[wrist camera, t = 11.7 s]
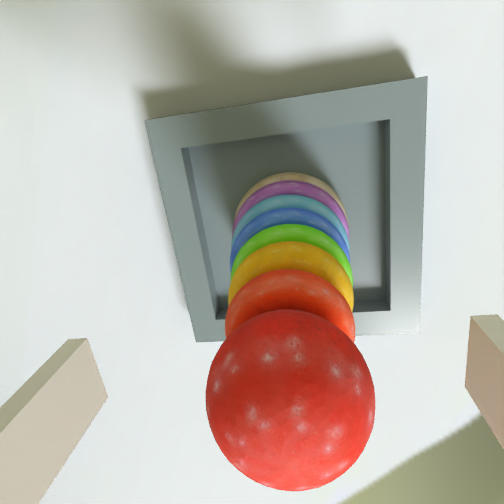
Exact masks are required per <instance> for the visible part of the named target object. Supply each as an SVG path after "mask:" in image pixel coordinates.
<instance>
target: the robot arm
mask: <svg viewBox="0 0 504 504" xmlns="http://www.w3.org/2000/svg"><path fill="white" fill-rule="evenodd" d="M465 388H466V389H467V391H468V392H469V394H470V396H471V397H472V399H473V401H474V402H475V404H476V405H477V407H478V409H479V410H480V412H481V414H482V415H483V417H484V418H485V420H486V422H487V423H488V425H489V426H490V428H491V430H492V431H493V433H494V435H495V436H496V438H497V439H498V441H499V443H500V444H501V446H502V448H503V449H504V321H503V320H502V319H501V318H500V317H499V316H498V315H481V316H471V319H470V331H469V342H468V354H467V366H466V377H465ZM107 398H108V396H107V393H106V390H105V387H104V384H103V382H102V379H101V376H100V373H99V370H98V367H97V365H96V362H95V359H94V356H93V353H92V350H91V348H90V345H89V342H88V339H87V338H82V339H68V340H67V341H66V342H65V343H64V344H63V345H62V346H61V347H60V348H59V349H58V350H57V351H56V352H55V353H54V354H53V355H52V356H51V357H50V358H49V359H48V360H47V361H46V362H45V363H44V364H43V365H42V366H41V367H40V368H39V369H38V370H37V371H36V372H35V373H34V374H33V375H32V376H31V377H30V378H29V379H28V380H27V381H26V382H25V383H24V384H23V385H22V386H21V387H20V389H19V390H18V391H17V392H16V393H15V394H14V395H13V396H12V397H11V398H10V399H9V400H8V401H7V402H6V403H5V404H4V405H3V406H2V407H1V408H0V504H38V503H39V502H40V500H41V499H42V497H43V496H44V494H45V493H46V491H47V490H48V488H49V486H50V485H51V483H52V482H53V480H54V479H55V477H56V476H57V474H58V473H59V471H60V470H61V468H62V467H63V465H64V464H65V462H66V460H67V459H68V457H69V456H70V454H71V453H72V451H73V450H74V448H75V447H76V445H77V444H78V442H79V441H80V439H81V438H82V436H83V434H84V433H85V431H86V430H87V428H88V427H89V425H90V424H91V422H92V421H93V419H94V418H95V416H96V415H97V413H98V411H99V410H100V408H101V407H102V405H103V404H104V402H105V401H106V399H107Z"/></svg>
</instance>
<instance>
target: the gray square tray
mask: <svg viewBox="0 0 504 504" xmlns="http://www.w3.org/2000/svg"><path fill="white" fill-rule="evenodd" d="M427 78H428V76H425V77H419V78H412V79H406V80H399V81H393V82H387V83H380V84H374V85H367V86H361V87H355V88H348V89H342V90H335V91H329V92H322V93H316V94H310V95H303V96H297V97H290V98H284V99H278V100H271V101H265V102H258V103H252V104H246V105H239V106H233V107H226V108H220V109H213V110H207V111H201V112H194V113H188V114H181V115H175V116H169V117H162V118H156V119H149V120H145V124H146V129H147V133H148V137H149V141H150V146H151V150H152V154H153V159H154V163H155V167H156V172H157V176H158V180H159V184H160V189H161V193H162V197H163V202H164V206H165V210H166V215H167V219H168V223H169V228H170V232H171V236H172V240H173V245H174V249H175V253H176V258H177V262H178V266H179V271H180V275H181V279H182V284H183V288H184V292H185V296H186V301H187V305H188V309H189V314H190V318H191V322H192V327H193V331H194V335H195V339H196V342H214V341H225V340H226V336H225V318H226V314H227V310H228V307H229V305H228V292H229V287H230V283H231V280H230V279H231V272H230V255H231V244H232V231H233V225H234V218H235V213H236V210H237V207H238V205H239V203H240V201H241V199H242V198H243V196H244V195H245V194H246V193H247V192H248V190H249V189H250V188H251V187H253V186H254V185H255V184H256V183H258V182H259V181H261V180H262V179H264V178H266V177H269V176H271V175H274V174H279V173H285V172H295V173H302V174H306V175H310V176H313V177H315V178H317V179H319V180H321V181H323V182H324V183H326V184H327V185H328V186H329V187H331V188H332V189H333V190H334V191H335V193H336V194H337V195H338V196H339V198H340V200H341V201H342V203H343V205H344V208H345V210H346V214H347V218H348V227H349V246H350V253H349V256H350V266H351V270H352V276H353V295H354V305H353V311H352V314H353V317H354V323H355V336H361V335H386V334H410V333H420V304H421V272H422V240H423V207H424V175H425V143H426V110H427Z"/></svg>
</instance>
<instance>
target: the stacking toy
mask: <svg viewBox="0 0 504 504" xmlns="http://www.w3.org/2000/svg"><path fill="white" fill-rule="evenodd" d="M349 253H350V246H349V227H348V218H347V214H346V210H345V208H344V205H343V203H342V201H341V200H340V198H339V196H338V195H337V194H336V193H335V191H334V190H333V189H332V188H331V187H329V186H328V185H327V184H326V183H324V182H323V181H321V180H319V179H317V178H315V177H313V176H310V175H306V174H302V173H295V172H285V173H279V174H274V175H271V176H269V177H266V178H264V179H262V180H261V181H259V182H258V183H256V184H255V185H254V186H253V187H251V188H250V189H249V190H248V192H247V193H246V194H245V195H244V196H243V198H242V199H241V201H240V203H239V205H238V207H237V210H236V213H235V218H234V225H233V231H232V244H231V255H230V272H231V279H230V280H231V283H230V287H229V292H228V305H229V307H228V310H227V314H226V318H225V336H226V340H225V341H224V342H223V344H222V345H221V347H220V348H219V350H218V352H217V354H216V356H215V358H214V360H213V361H212V364H211V367H210V371H209V375H208V380H207V387H206V411H207V416H208V420H209V424H210V428H211V431H212V433H213V436H214V438H215V440H216V442H217V444H218V446H219V447H220V449H221V451H222V452H223V454H224V455H225V456H226V458H227V459H228V460H229V461H230V462H231V463H232V464H233V465H234V466H235V467H236V468H237V469H238V470H239V471H241V472H242V473H243V474H244V475H246V476H247V477H249V478H251V479H252V480H254V481H256V482H258V483H260V484H262V485H265V486H267V487H270V488H274V489H278V490H285V491H304V490H309V489H314V488H318V487H321V486H323V485H325V484H327V483H330V482H332V481H333V480H335V479H336V478H338V477H339V476H341V475H342V474H343V473H345V472H346V471H347V470H348V469H349V468H350V467H351V466H352V465H353V464H354V463H355V462H356V460H357V459H358V458H359V456H360V455H361V453H362V452H363V450H364V448H365V446H366V443H367V441H368V439H369V437H370V434H371V431H372V429H373V424H374V416H375V393H374V386H373V382H372V378H371V374H370V371H369V369H368V367H367V364H366V362H365V360H364V358H363V356H362V354H361V353H360V351H359V350H358V348H357V347H356V345H355V344H354V340H355V323H354V317H353V314H352V311H353V305H354V295H353V276H352V270H351V266H350V256H349Z"/></svg>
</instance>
